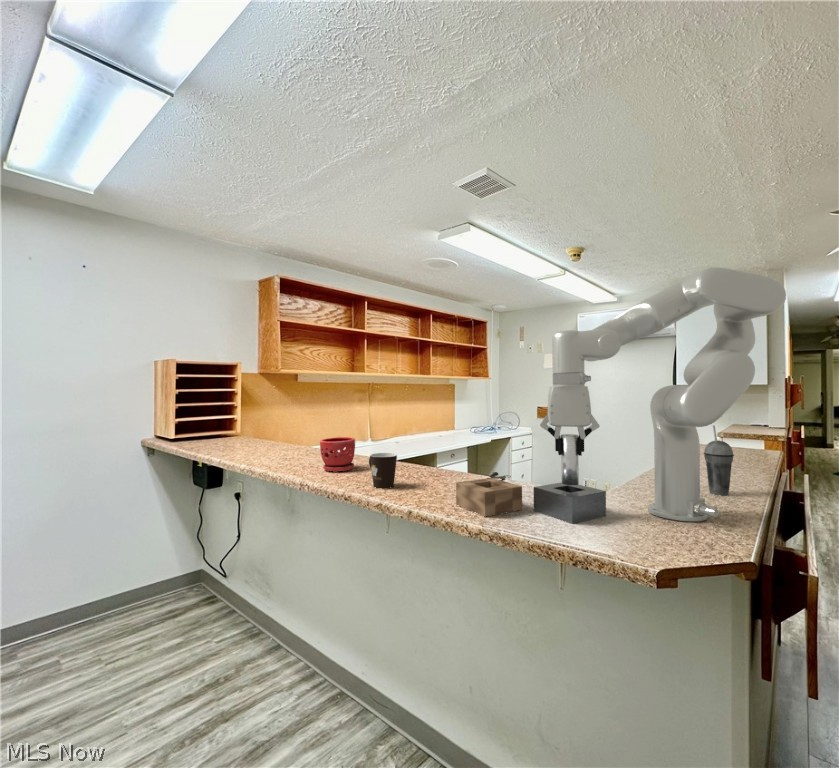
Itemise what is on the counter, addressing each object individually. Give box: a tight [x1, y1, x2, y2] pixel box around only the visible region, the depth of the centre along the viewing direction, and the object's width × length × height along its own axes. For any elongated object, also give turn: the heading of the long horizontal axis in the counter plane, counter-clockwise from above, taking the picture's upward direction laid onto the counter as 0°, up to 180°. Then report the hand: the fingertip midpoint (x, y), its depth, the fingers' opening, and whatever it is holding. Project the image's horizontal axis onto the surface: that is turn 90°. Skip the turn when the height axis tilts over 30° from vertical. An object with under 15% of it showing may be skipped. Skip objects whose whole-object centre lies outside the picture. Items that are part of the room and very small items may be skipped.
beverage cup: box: [703, 424, 735, 497], centre depth 123 cm, size 7×7×20 cm
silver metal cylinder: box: [560, 433, 580, 485], centre depth 105 cm, size 4×4×12 cm
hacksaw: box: [488, 471, 512, 481], centre depth 140 cm, size 24×10×2 cm, turn 154°
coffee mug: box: [368, 452, 398, 489], centre depth 135 cm, size 12×9×10 cm
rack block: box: [455, 477, 523, 518], centre depth 110 cm, size 12×12×6 cm
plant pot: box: [319, 436, 356, 473], centre depth 161 cm, size 13×13×12 cm
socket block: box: [533, 481, 607, 525], centre depth 105 cm, size 12×12×6 cm
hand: (569, 453), depth 105 cm, fingers closed on silver metal cylinder, 4 cm apart
